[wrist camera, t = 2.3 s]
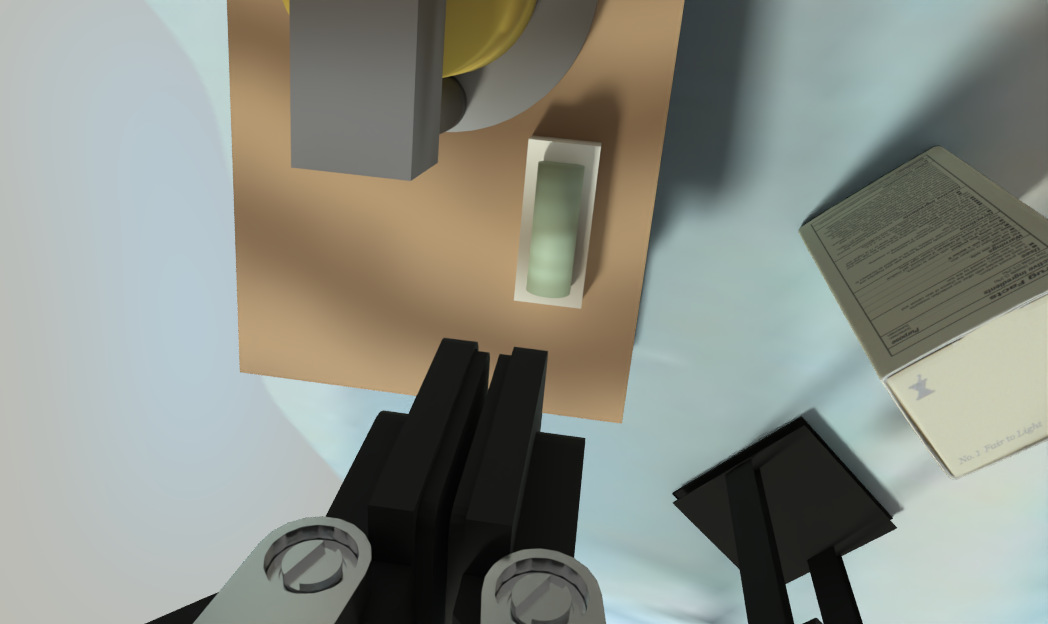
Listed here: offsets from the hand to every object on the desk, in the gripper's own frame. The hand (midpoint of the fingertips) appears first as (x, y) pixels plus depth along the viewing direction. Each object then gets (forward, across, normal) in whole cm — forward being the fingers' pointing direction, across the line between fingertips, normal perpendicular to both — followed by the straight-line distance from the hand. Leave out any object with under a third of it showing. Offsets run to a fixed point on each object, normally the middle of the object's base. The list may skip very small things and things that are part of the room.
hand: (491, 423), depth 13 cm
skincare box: (+21, -13, +3) cm, 25 cm away
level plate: (+16, +4, -2) cm, 16 cm away
